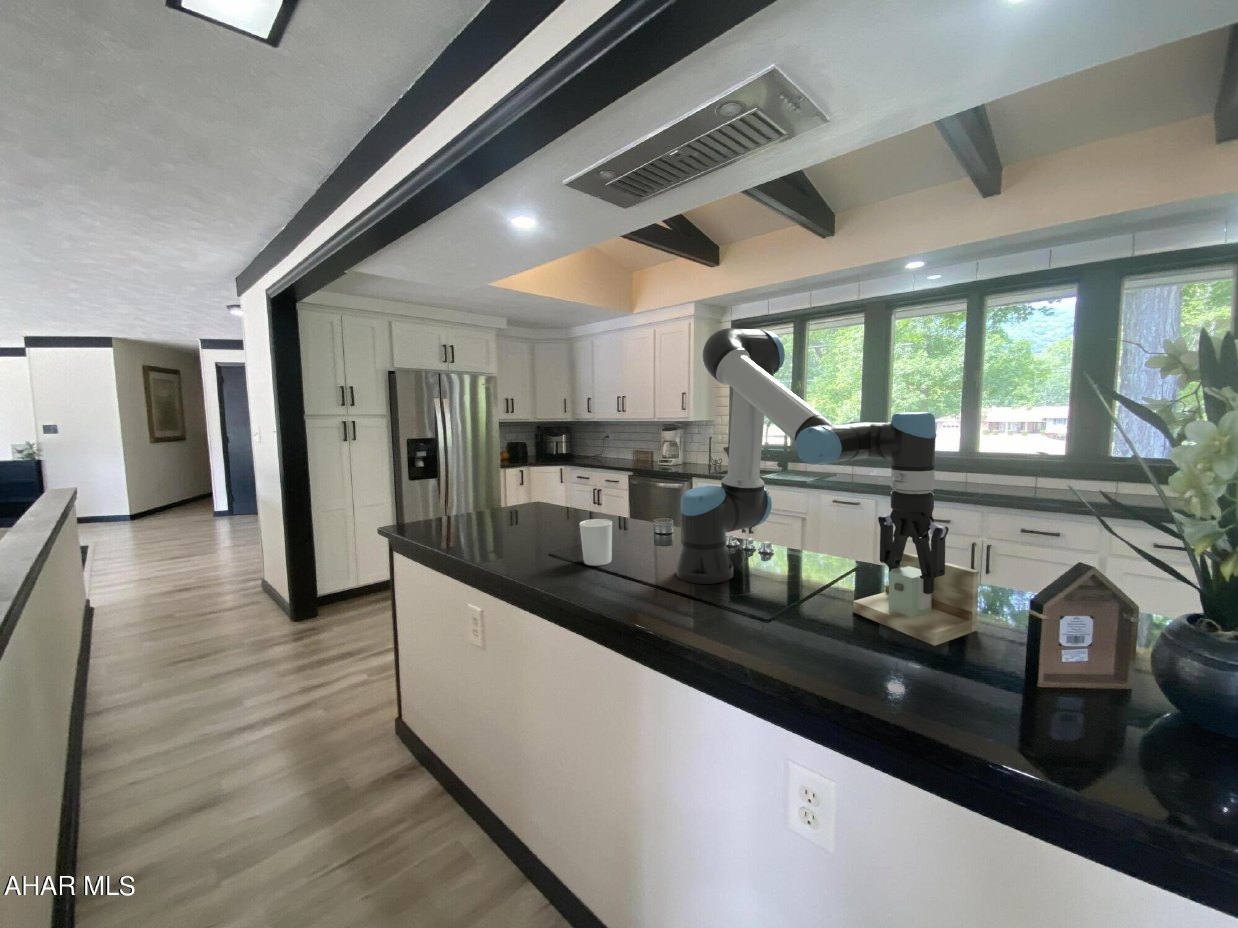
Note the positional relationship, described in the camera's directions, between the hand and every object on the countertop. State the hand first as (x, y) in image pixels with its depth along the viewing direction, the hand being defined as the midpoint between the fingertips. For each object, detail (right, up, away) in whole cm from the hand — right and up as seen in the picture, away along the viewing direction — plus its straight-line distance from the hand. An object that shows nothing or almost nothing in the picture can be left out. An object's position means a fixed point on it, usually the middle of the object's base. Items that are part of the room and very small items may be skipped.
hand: (909, 602), depth 105 cm
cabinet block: (0, -1, 0) cm, 1 cm away
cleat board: (+1, -4, +1) cm, 4 cm away
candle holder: (-66, -1, +50) cm, 83 cm away
